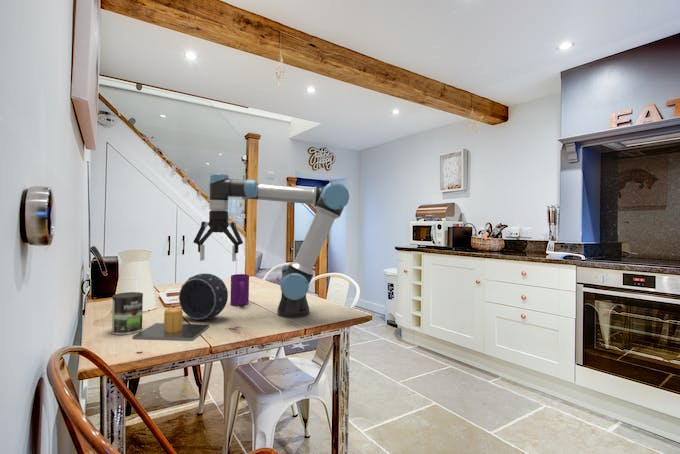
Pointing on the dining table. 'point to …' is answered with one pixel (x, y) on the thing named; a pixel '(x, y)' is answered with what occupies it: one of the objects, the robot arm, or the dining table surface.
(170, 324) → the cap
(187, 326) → the plate
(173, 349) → the dining table surface
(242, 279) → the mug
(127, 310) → the coffee can
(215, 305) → the studded dark pot
